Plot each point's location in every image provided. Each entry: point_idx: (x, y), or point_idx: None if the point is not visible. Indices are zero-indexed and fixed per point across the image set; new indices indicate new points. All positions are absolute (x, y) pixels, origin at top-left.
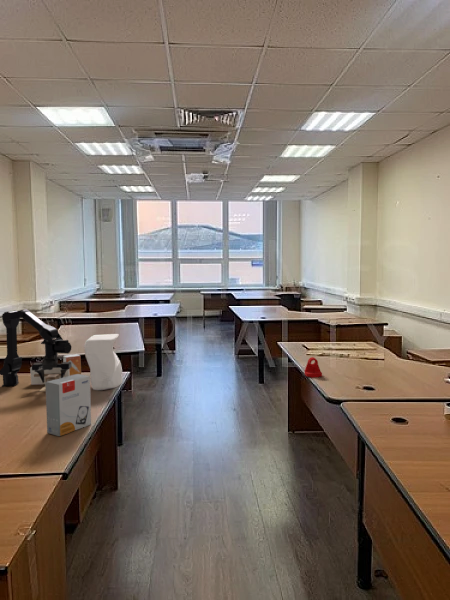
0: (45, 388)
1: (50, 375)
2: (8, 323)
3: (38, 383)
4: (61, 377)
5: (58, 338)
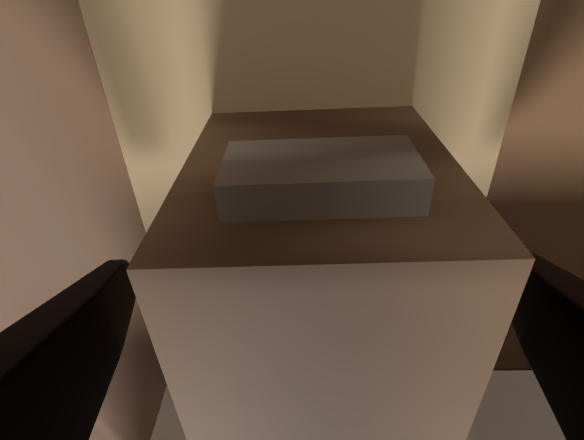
0: None
1: (388, 428)
2: None
3: None
4: (35, 332)
5: None
